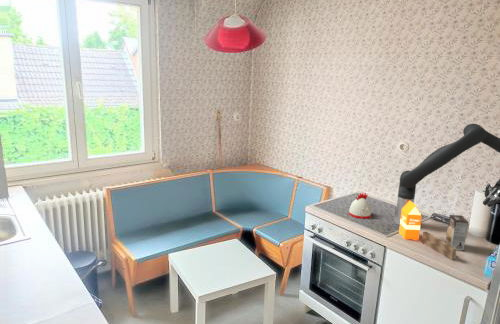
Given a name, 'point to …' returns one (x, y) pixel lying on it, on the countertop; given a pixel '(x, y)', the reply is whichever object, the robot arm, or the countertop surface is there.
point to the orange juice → (410, 221)
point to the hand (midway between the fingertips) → (486, 205)
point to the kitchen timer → (360, 207)
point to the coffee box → (457, 231)
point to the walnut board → (439, 245)
